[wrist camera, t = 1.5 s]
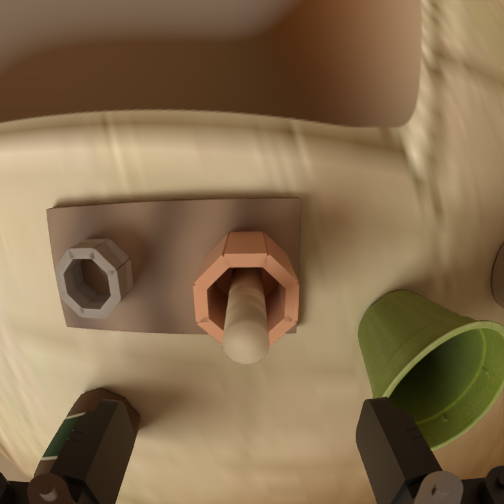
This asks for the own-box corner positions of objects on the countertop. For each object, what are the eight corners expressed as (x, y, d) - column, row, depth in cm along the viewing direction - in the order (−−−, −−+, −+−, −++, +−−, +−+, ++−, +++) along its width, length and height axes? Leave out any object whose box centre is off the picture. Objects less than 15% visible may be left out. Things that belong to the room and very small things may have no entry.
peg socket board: (298, 197, 24) (307, 204, 21) (294, 327, 27) (301, 352, 24) (52, 207, 24) (26, 215, 20) (71, 322, 27) (52, 342, 23)
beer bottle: (132, 388, 29) (48, 597, 6) (150, 438, 31) (100, 620, 8) (70, 382, 29) (-32, 550, 6) (92, 431, 31) (24, 587, 8)
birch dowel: (261, 259, 24) (269, 324, 14) (261, 287, 25) (269, 363, 15) (231, 260, 24) (220, 324, 14) (232, 288, 25) (223, 364, 15)
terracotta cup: (288, 231, 24) (300, 252, 18) (286, 307, 26) (296, 347, 20) (204, 232, 24) (190, 254, 18) (208, 308, 26) (198, 348, 20)
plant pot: (345, 391, 30) (376, 476, 19) (321, 290, 27) (362, 368, 16) (446, 350, 29) (502, 414, 18) (440, 247, 26) (522, 293, 15)
